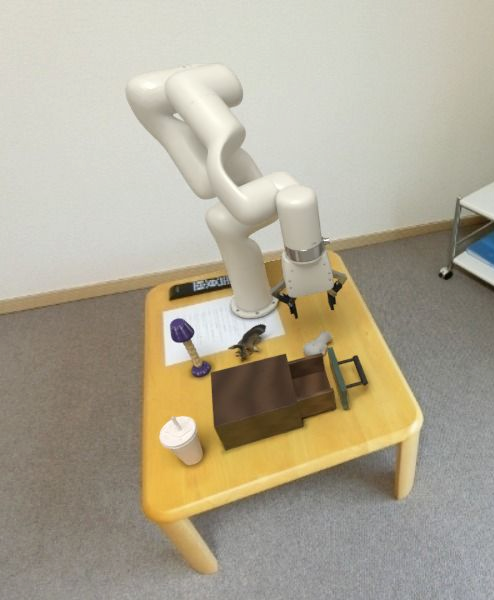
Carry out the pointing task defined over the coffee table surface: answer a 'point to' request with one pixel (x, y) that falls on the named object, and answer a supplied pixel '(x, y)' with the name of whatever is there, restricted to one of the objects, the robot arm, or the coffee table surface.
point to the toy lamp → (188, 345)
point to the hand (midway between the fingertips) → (313, 310)
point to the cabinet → (254, 401)
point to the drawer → (321, 382)
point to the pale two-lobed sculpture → (317, 344)
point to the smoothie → (182, 439)
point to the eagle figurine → (249, 341)
